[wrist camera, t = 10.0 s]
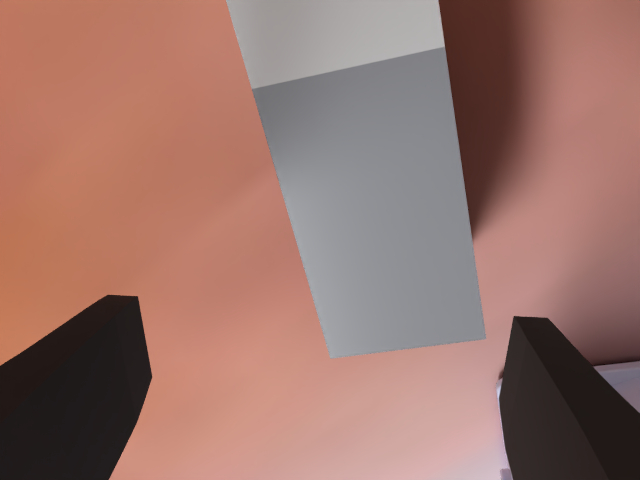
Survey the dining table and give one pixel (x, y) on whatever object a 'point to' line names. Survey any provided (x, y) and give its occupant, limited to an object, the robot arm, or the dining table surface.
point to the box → (367, 166)
